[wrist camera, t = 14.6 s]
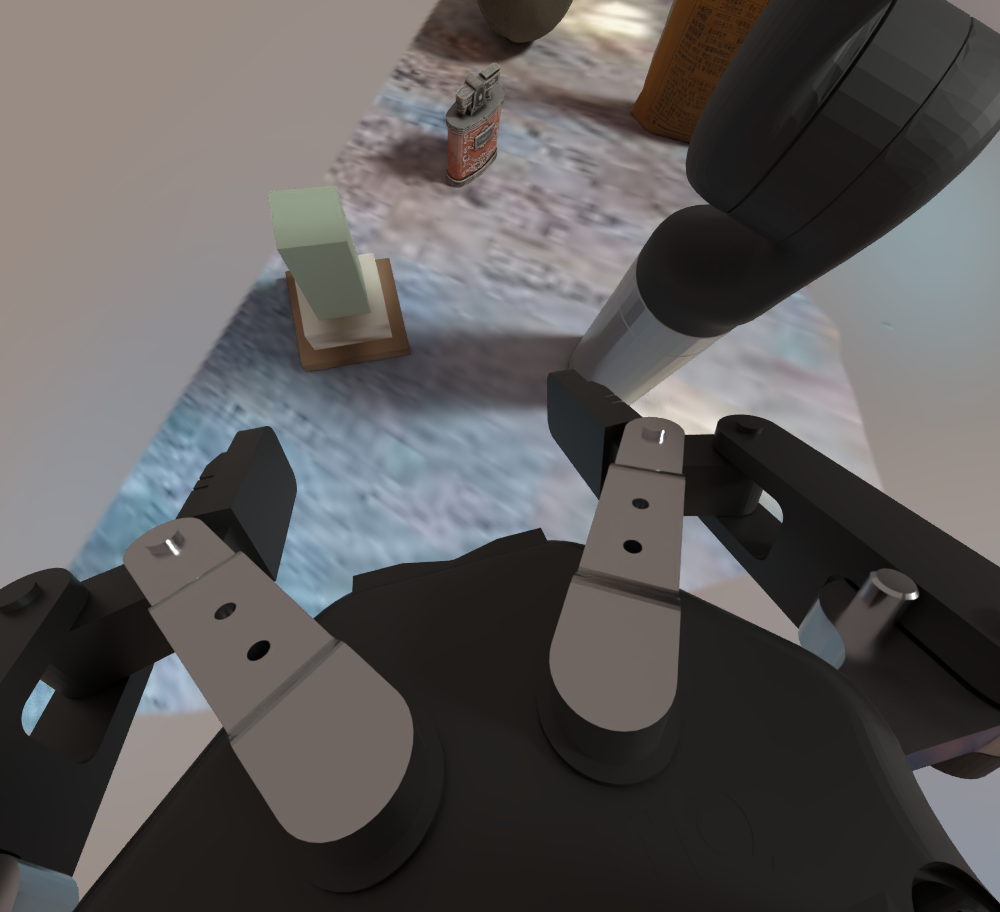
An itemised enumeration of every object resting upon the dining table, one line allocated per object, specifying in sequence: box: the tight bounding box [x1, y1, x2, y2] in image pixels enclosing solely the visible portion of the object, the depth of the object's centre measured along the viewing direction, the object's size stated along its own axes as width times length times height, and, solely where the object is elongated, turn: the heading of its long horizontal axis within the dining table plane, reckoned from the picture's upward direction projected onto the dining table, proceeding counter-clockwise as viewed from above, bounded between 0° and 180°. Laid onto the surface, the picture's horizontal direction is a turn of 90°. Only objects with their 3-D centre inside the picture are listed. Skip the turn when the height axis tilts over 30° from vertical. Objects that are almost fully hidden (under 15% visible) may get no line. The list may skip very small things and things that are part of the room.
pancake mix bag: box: [630, 0, 770, 143], centre depth 43 cm, size 7×19×28 cm, turn 81°
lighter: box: [446, 63, 505, 188], centre depth 46 cm, size 8×3×10 cm, turn 139°
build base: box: [285, 253, 410, 372], centre depth 43 cm, size 11×11×4 cm
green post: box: [268, 185, 371, 321], centre depth 36 cm, size 5×5×10 cm
